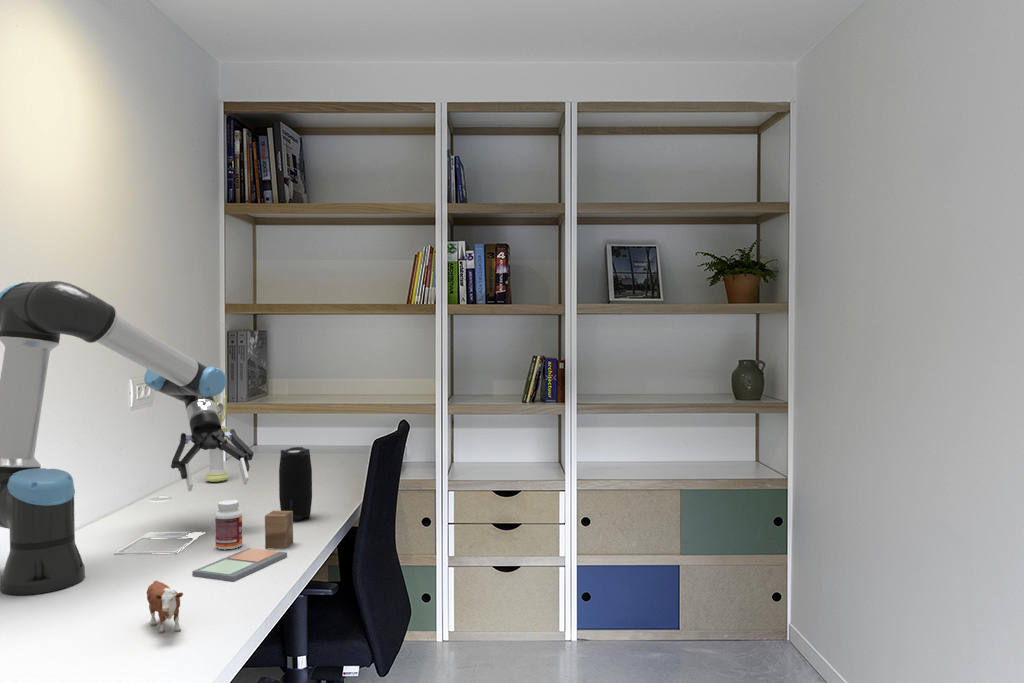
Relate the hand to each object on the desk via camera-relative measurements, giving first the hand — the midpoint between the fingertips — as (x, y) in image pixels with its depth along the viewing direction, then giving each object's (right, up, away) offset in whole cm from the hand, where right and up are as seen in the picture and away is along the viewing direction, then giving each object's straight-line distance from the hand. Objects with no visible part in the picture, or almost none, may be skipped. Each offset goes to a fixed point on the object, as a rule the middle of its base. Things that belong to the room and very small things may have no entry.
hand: (219, 484), depth 192 cm
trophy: (-28, -13, +71) cm, 78 cm away
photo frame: (-13, -15, -4) cm, 20 cm away
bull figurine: (+13, -15, -57) cm, 60 cm away
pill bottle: (+5, -14, -8) cm, 17 cm away
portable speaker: (+14, -13, +19) cm, 27 cm away
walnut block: (+17, -14, -7) cm, 23 cm away
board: (+14, -14, -22) cm, 30 cm away
